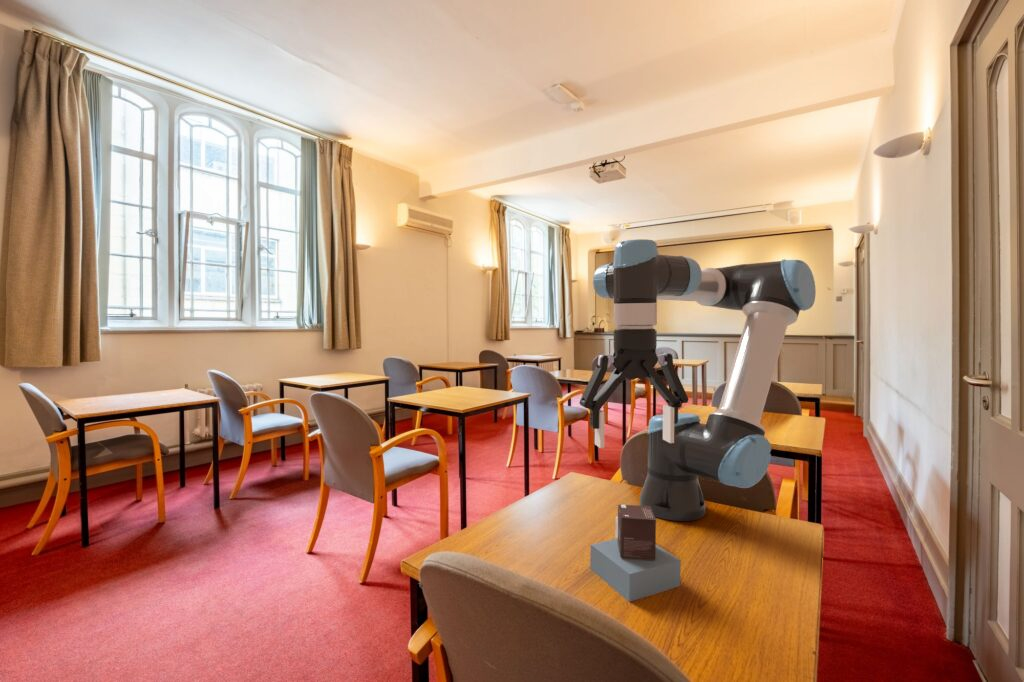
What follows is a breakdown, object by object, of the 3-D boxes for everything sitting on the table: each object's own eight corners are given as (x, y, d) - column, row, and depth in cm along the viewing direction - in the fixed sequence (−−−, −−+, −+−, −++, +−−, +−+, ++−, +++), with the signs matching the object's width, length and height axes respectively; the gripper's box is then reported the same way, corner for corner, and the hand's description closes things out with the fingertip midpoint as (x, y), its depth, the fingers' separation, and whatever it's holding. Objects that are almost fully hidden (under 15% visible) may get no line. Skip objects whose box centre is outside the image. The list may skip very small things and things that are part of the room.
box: (655, 561, 80) (656, 519, 79) (619, 559, 81) (620, 517, 80) (650, 544, 86) (651, 505, 85) (617, 542, 87) (617, 503, 86)
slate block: (637, 558, 91) (638, 533, 90) (680, 588, 81) (680, 560, 80) (590, 571, 86) (590, 544, 86) (629, 604, 76) (629, 574, 76)
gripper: (685, 326, 90) (684, 434, 92) (562, 328, 85) (562, 442, 87) (709, 326, 83) (707, 444, 84) (576, 329, 78) (576, 454, 79)
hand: (634, 443), depth 85 cm, fingers open, 13 cm apart
